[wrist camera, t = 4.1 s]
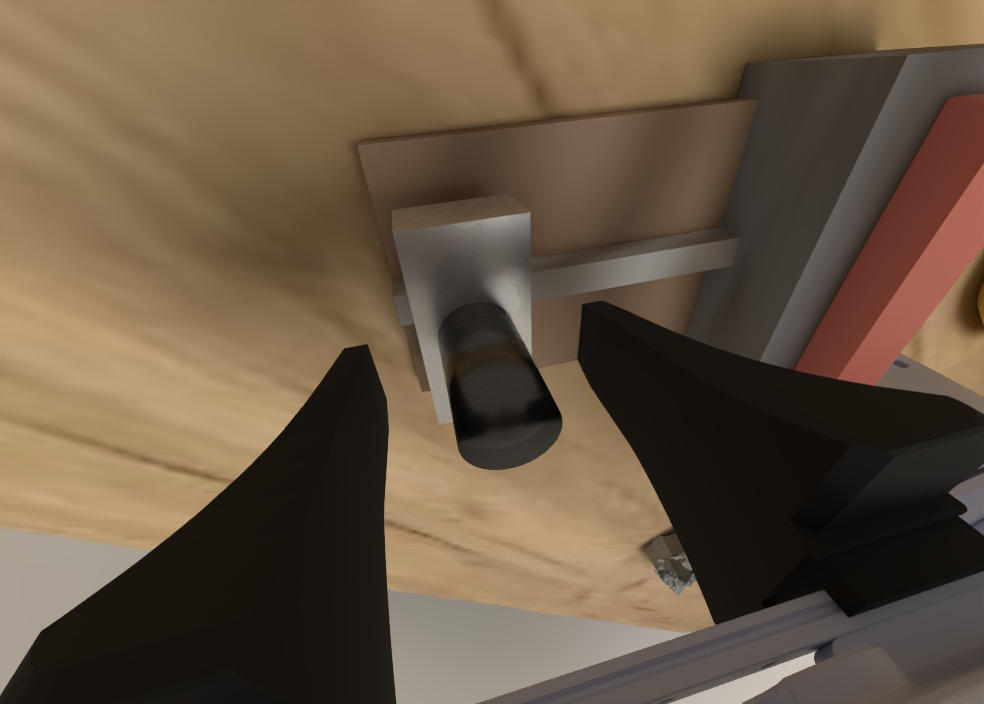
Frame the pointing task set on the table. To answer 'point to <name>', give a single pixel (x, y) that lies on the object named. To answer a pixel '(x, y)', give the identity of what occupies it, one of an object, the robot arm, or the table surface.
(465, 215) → the carriage
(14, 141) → the table surface
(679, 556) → the egg carton
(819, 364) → the bar
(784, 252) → the rail stand
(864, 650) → the robot arm
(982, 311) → the teapot
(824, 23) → the table surface
